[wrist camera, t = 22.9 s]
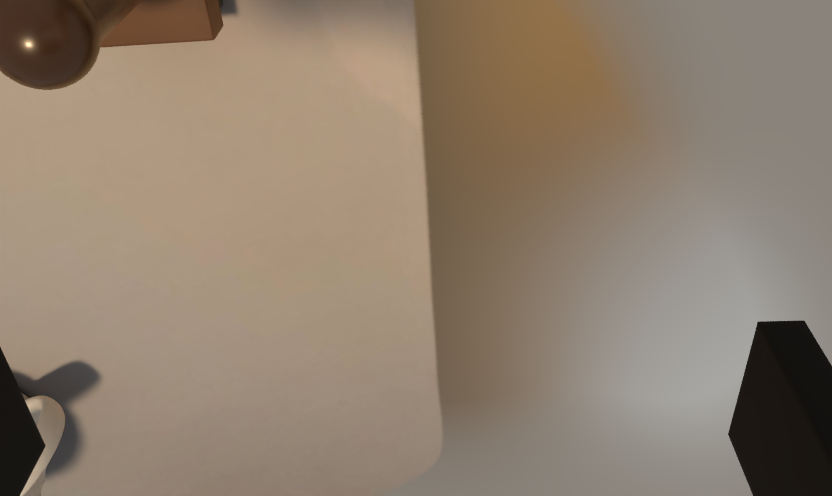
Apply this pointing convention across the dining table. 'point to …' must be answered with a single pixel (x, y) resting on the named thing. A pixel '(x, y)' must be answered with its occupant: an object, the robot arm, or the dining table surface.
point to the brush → (91, 33)
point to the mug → (44, 437)
